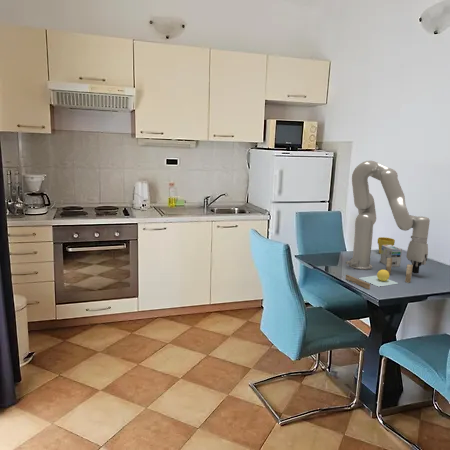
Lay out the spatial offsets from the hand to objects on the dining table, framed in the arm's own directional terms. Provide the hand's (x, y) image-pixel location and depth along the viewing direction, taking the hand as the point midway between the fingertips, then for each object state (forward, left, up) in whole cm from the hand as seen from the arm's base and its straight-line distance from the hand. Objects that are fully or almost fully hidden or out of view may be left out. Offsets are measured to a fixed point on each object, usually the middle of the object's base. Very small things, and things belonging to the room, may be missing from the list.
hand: (415, 272), depth 225 cm
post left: (-13, +7, -2) cm, 15 cm away
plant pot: (+21, +41, -2) cm, 46 cm away
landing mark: (-27, 0, -2) cm, 27 cm away
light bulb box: (+4, +21, -2) cm, 21 cm away
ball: (-25, -1, +2) cm, 25 cm away
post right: (-13, -6, -2) cm, 15 cm away
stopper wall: (-41, 0, -2) cm, 41 cm away
